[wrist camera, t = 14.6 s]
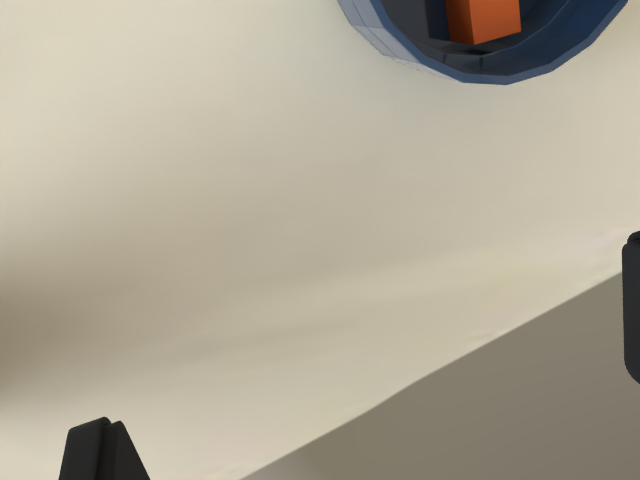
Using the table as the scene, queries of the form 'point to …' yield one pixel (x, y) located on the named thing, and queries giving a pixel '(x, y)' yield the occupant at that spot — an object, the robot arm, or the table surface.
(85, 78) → the table surface
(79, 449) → the robot arm
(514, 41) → the navy round tub
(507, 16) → the screwdriver
